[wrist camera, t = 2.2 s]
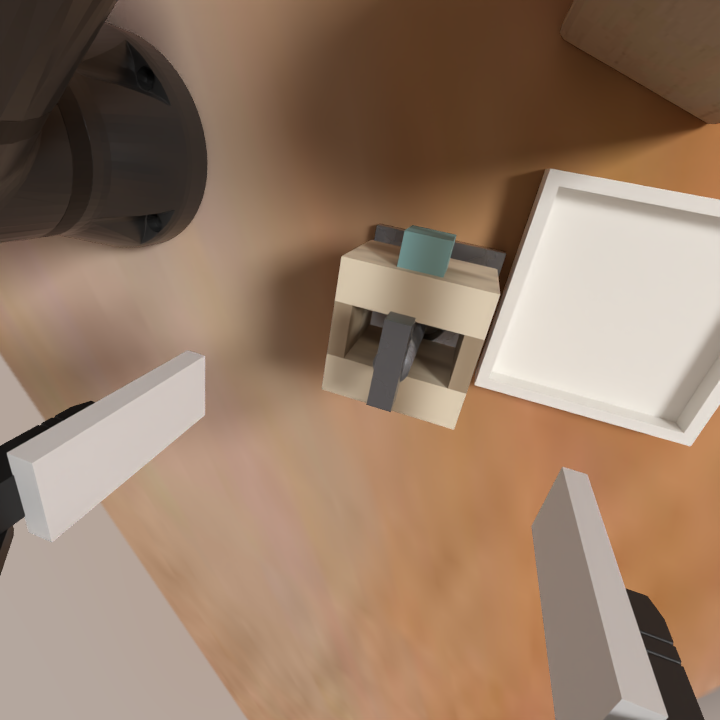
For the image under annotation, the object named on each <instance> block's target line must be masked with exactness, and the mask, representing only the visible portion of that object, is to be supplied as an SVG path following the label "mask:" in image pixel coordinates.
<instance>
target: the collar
mask: <svg viewBox="0 0 720 720" xmlns="http://www.w3.org/2000/svg"><path fill="white" fill-rule="evenodd" d="M455 239H456V235H454V234H450V233H445V232H441V231H436V230H432V229H427V228H423V227H418V226H414V225H412V226H411V227H409V228H408V229H406V230H405V232H404V236H403V241H402V245H401V247H400V246H396V245H391V244H387V243H383V242H378V241H374V240H370V241H368V242H366V243H364V244H363V245H361V246H359V247H357V248H355V249H354V250H352V251H350V252H348V253H346V254H344V255H343V256H341V263H340V270H339V276H338V283H337V290H336V296H335V303H334V310H333V316H332V323H331V330H330V336H329V343H328V350H327V356H326V363H325V370H324V376H323V383H322V389H323V390H326V391H329V392H332V393H336V394H339V395H342V396H346V397H349V398H352V399H355V400H359V401H362V402H365V403H367V399H368V395H369V390H370V385H371V380H372V376H373V371H374V369H373V360H374V358H375V356H376V354H377V352H378V348H379V343H380V338H381V334H382V329H383V328H382V327H378V326H374V325H371V324H370V323H371V317H372V312H373V311H376V312H380V313H383V314H387V315H388V314H389V312H390V311H391V312H395V313H399V314H403V315H407V316H411V317H414V318H416V320H415V322H418V323H421V324H425V325H429V326H433V327H437V328H440V329H444V330H448V331H452V332H455V333H459V337H458V340H457V344H456V347H452V346H448V345H445V344H441V343H437V342H434V341H430V340H426V339H423V338H422V341H421V343H420V346H419V348H418V351H417V353H416V356H415V358H414V361H413V363H412V366H411V368H410V371H409V374H408V376H407V377H406V378H405V379H404V380H403V381H401V382H400V384H399V388H398V392H397V396H396V400H395V402H394V405H393V407H392V410H391V411H395V412H398V413H401V414H404V415H408V416H411V417H414V418H417V419H421V420H424V421H427V422H431V423H434V424H437V425H440V426H444V427H447V428H450V429H453V430H454V428H455V425H456V422H457V419H458V416H459V413H460V410H461V408H462V405H463V402H464V399H465V396H466V393H467V390H468V387H469V384H470V381H471V378H472V376H473V373H474V370H475V367H476V364H477V361H478V358H479V355H480V352H481V349H482V346H483V344H484V341H485V338H486V335H487V332H488V329H489V326H490V323H491V320H492V317H493V314H494V312H495V309H496V306H497V303H498V300H499V297H500V288H499V279H498V270H497V269H495V268H491V267H486V266H482V265H478V264H473V263H469V262H465V261H460V260H456V259H452V258H450V257H451V253H452V250H453V246H454V242H455Z"/></svg>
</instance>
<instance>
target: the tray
mask: <svg viewBox="0 0 720 720" xmlns="http://www.w3.org/2000/svg"><path fill="white" fill-rule="evenodd" d="M475 385H476V386H480V387H483V388H487V389H490V390H494V391H497V392H501V393H504V394H508V395H511V396H515V397H519V398H522V399H526V400H529V401H533V402H536V403H540V404H543V405H547V406H550V407H554V408H557V409H561V410H564V411H568V412H571V413H575V414H578V415H582V416H585V417H589V418H592V419H596V420H600V421H603V422H607V423H610V424H614V425H617V426H621V427H624V428H628V429H631V430H635V431H638V432H642V433H645V434H649V435H652V436H656V437H659V438H663V439H666V440H670V441H673V442H677V443H681V444H684V445H688V446H691V445H692V444H693V442H694V441H695V439H696V438H697V436H698V435H699V434H700V432H701V431H702V429H703V428H704V426H705V425H706V423H707V422H708V421H709V419H710V418H711V416H712V415H713V413H714V412H715V410H716V409H717V407H718V406H719V405H720V200H718V199H712V198H707V197H702V196H696V195H691V194H685V193H680V192H675V191H669V190H664V189H658V188H653V187H648V186H642V185H637V184H631V183H626V182H621V181H615V180H610V179H604V178H599V177H594V176H588V175H583V174H577V173H572V172H567V171H561V170H556V169H545V172H544V175H543V178H542V181H541V184H540V187H539V189H538V192H537V195H536V198H535V201H534V204H533V207H532V210H531V213H530V215H529V218H528V221H527V224H526V227H525V230H524V233H523V236H522V239H521V241H520V244H519V247H518V250H517V253H516V256H515V259H514V262H513V265H512V268H511V270H510V273H509V276H508V279H507V282H506V285H505V288H504V291H503V294H502V296H501V299H500V302H499V305H498V308H497V311H496V314H495V317H494V320H493V322H492V325H491V328H490V331H489V334H488V337H487V340H486V343H485V346H484V349H483V351H482V354H481V357H480V360H479V363H478V366H477V369H476V372H475Z"/></svg>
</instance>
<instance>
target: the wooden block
mask: <svg viewBox="0 0 720 720" xmlns="http://www.w3.org/2000/svg"><path fill="white" fill-rule="evenodd" d="M560 34H561V36H562V37H563V39H564V40H566V41H567V42H569V43H571V44H572V45H574V46H576V47H578V48H579V49H581V50H583V51H584V52H586V53H588V54H590V55H591V56H593V57H595V58H596V59H598V60H600V61H602V62H603V63H605V64H607V65H608V66H610V67H612V68H614V69H615V70H617V71H619V72H620V73H622V74H624V75H626V76H627V77H629V78H631V79H632V80H634V81H636V82H638V83H639V84H641V85H643V86H644V87H646V88H648V89H650V90H651V91H653V92H655V93H656V94H658V95H660V96H662V97H663V98H665V99H667V100H668V101H670V102H672V103H674V104H675V105H677V106H679V107H680V108H682V109H684V110H686V111H687V112H689V113H691V114H692V115H694V116H696V117H697V118H699V119H701V120H703V121H704V122H706V123H708V124H718V123H720V0H574V1H573V3H572V5H571V7H570V9H569V11H568V13H567V15H566V17H565V19H564V21H563V23H562V26H561V31H560Z"/></svg>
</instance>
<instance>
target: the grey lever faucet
mask: <svg viewBox="0 0 720 720" xmlns="http://www.w3.org/2000/svg"><path fill="white" fill-rule="evenodd" d="M405 230H406V229H402V228H397V227H393V226H388V225H384V224H378V225H377V228H376V233H375V238H374V241H378V242H383V243H387V244H391V245H396V246H400V247H401V245H402V241H403V236H404V232H405ZM505 256H506V252H504V251H500V250H495V249H491V248H486V247H482V246H477V245H473V244H469V243H464V242H460V241H455V242H454V246H453V250H452V253H451V257H450V258H452V259H456V260H460V261H465V262H469V263H473V264H478V265H482V266H486V267H491V268H495V269H497V270H498V277H499V274H500V271H501V268H502V265H503V262H504V259H505ZM415 320H416V318H414V317H411V316H407V315H403V314H399V313H395V312H391V311H390V312H389V314H388V315H387V314H383V313H380V312H376V311H373V312H372V317H371V323H370V324H371V325H374V326H378V327H382V328H383V329H382V334H381V338H380V343H379V348H378V352H377V354H376V356H375V358H374V360H373V369H374V371H373V376H372V380H371V385H370V390H369V395H368V399H367V404H366V405H369V406H373V407H376V408H379V409H382V410H386V411H389V412H391V410H392V407H393V405H394V402H395V400H396V396H397V392H398V388H399V384H400V382H401V381H403V380H404V379H405V378H406V377H407V376H408V374H409V371H410V368H411V366H412V363H413V361H414V358H415V356H416V353H417V351H418V348H419V346H420V343H421V341H422V338H423V339H426V340H430V341H434V342H437V343H441V344H445V345H448V346H452V347H456V344H457V340H458V337H459V333H455V332H452V331H448V330H444V329H440V328H437V327H433V326H429V325H425V324H421V323H418V322H415Z"/></svg>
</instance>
